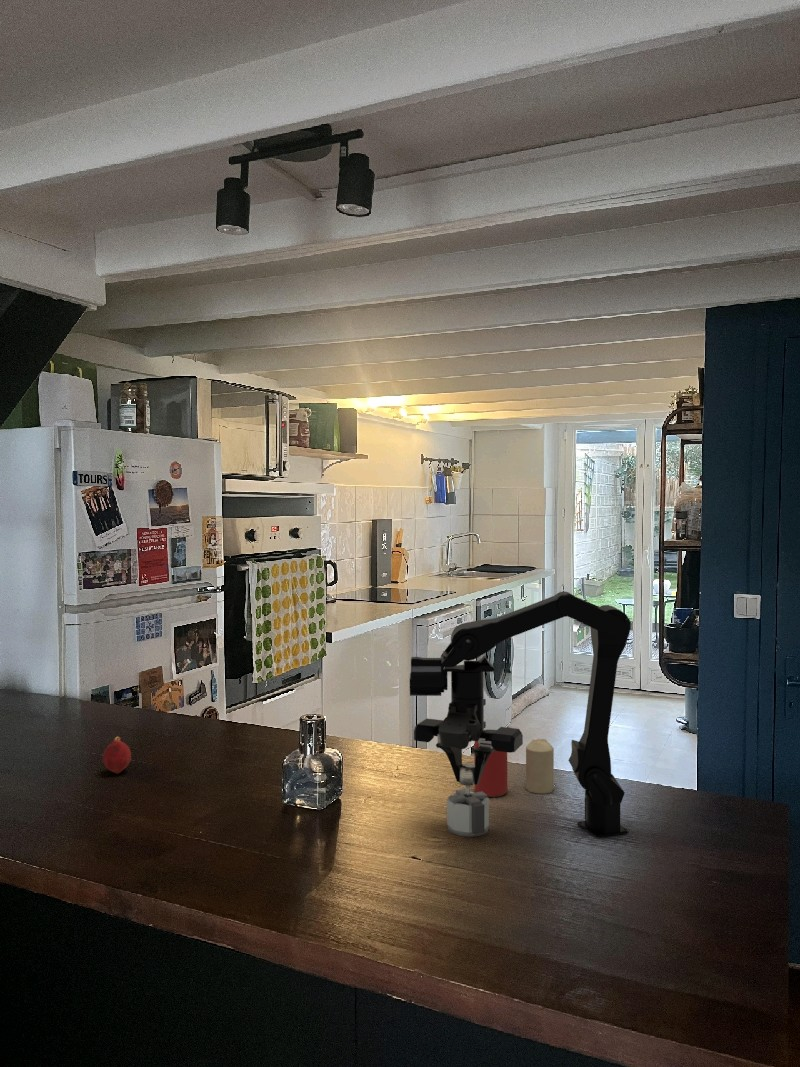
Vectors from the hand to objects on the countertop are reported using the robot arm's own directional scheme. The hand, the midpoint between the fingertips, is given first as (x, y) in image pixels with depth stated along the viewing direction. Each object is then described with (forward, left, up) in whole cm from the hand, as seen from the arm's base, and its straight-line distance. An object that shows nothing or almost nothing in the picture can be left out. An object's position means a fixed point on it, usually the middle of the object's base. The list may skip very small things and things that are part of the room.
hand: (467, 782), depth 146 cm
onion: (+55, +58, -8) cm, 80 cm away
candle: (+13, -22, -8) cm, 27 cm away
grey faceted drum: (0, 0, -8) cm, 8 cm away
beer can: (+15, -12, -8) cm, 21 cm away
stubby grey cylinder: (0, 0, -5) cm, 5 cm away
